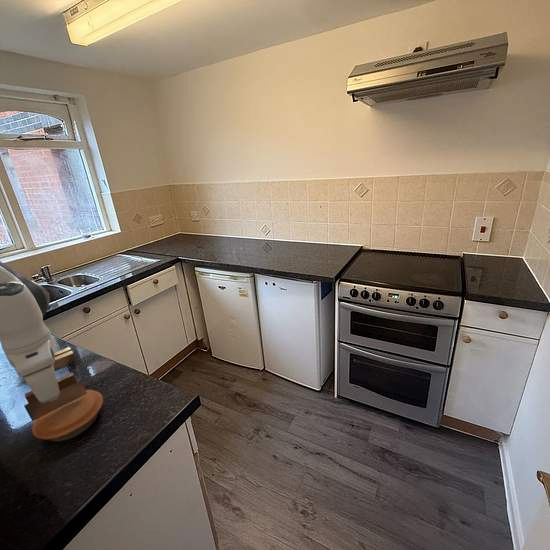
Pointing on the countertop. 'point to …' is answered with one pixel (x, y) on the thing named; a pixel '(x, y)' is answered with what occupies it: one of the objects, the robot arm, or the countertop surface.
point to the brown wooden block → (68, 393)
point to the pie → (69, 418)
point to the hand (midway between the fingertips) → (53, 395)
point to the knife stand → (63, 358)
